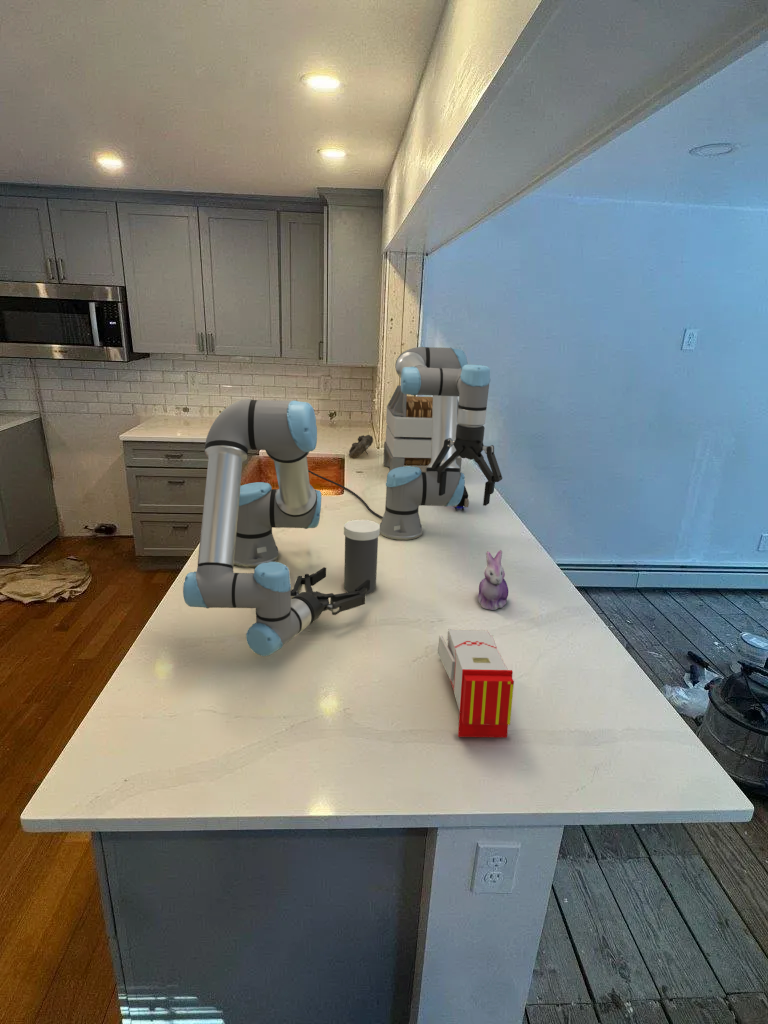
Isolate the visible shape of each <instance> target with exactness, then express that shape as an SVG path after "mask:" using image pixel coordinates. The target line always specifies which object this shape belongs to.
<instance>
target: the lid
mask: <svg viewBox="0 0 768 1024" xmlns="http://www.w3.org/2000/svg"><path fill="white" fill-rule="evenodd" d="M343 535H344V537H345V536H346V537H348V538H350V539H353V540H361V541H365V540H372V539H375V538H377V537H378V538H379V536H380V535H381V534H380V523H378V522H376V521H374V520H370V519H352V520H348V521H346V522H345V523H344V524H343Z"/></svg>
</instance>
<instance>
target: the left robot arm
mask: <svg viewBox="0 0 768 1024" xmlns="http://www.w3.org/2000/svg"><path fill="white" fill-rule="evenodd" d="M317 442H318V427H317V418H316V413H315V410H314V407H313V406H312V404H311V403H310V402H308V401H307V402H306V401H299V400H276V399H274V400H273V399H271V400H270V399H269V400H268V399H251V398H248V399H241V400H238V401H235V402H233V403H231V404H229V405H228V406H226V408H224V409H223V410H222V411H221V412H220V413H219V414H218V415H217V417H216V418H215V419H214V421H213V422H212V425H211V426H210V428H209V430H208V432H207V436H206V439H205V445H204V455H205V457H206V458H207V459H208V460H207V470H206V478H205V479H206V481H205V489H204V499H203V509H202V519H201V527H200V537H199V547H198V556H197V568H196V570H195V571H189V572H188V573H187V574H186V575H185V578H184V582H183V586H182V596H183V600H184V603H185V604H186V605H187V606H188V607H190V608H203V609H204V608H205V609H217V608H218V609H255V622H254V623H253V624H252V625H251V626H250V627H249V628H248V629H247V631H246V634H245V639H246V644H247V645H248V647H249V648H250V650H251V651H252V652H253V653H254V654H256V655H258V656H261V657H269V656H270V655H272V654H274V653H276V652H277V651H279V650H281V649H282V648H283V647H284V646H285V645H287V643H288V642H290V641H291V640H292V639H293V638H295V637H296V636H298V635H299V634H300V633H301V632H302V631H303V630H305V629H306V628H308V627H309V626H310V625H312V624H313V623H314V622H315V621H317V620H318V619H319V618H320V616H321V615H322V613H324V612H326V611H330V612H331V615H332V616H336V615H339V614H340V613H342V612H345V611H348V610H351V609H354V608H358V607H361V606H364V605H366V594H367V591H368V590H369V589H370V580H368V579H367V580H366V581H365V582H364V583H362V584H361V585H360V586H359V587H357V588H356V589H355V592H341V593H336V594H335V593H333V592H331V593H323V592H320V591H318V590H316V591H314V590H313V586H315V585H317V584H318V583H319V582H321V581H322V580H324V579H325V578H326V577H327V567H325V566H324V567H322V568H320V569H318V570H317V571H316V572H314V573H311V574H309V573H304V577H303V576H302V575H298V576H297V577H296V580H295V582H294V585H293V588H292V585H291V575H290V569H289V567H288V565H285V564H284V563H282V562H278V561H277V560H278V559H279V556H280V555H279V554H280V553H279V548H278V546H277V543H276V540H275V537H274V534H273V528H276V529H277V528H279V529H281V528H284V529H304V530H308V529H315V528H317V527H318V526H319V523H320V518H321V511H322V491H320V490H317V489H315V488H314V487H313V486H312V485H311V483H310V474H309V473H310V472H308V470H309V464H308V455H309V454H310V452H313V451H314V450H316V447H317ZM249 450H253V451H255V450H256V451H257V450H258V451H265V453H266V454H267V456H268V457H269V458H270V459H271V460H273V464H274V465H273V466H274V470H275V475H276V479H277V485H278V488H272V485H271V483H268V482H264V481H258V482H250V483H246V484H242V474H243V473H242V472H243V463H244V462H245V461H246V460H248V453H249ZM241 484H242V485H241ZM234 565H235V566H237V567H240V568H241V567H242V568H254V570H253V572H234V567H235V566H234ZM303 586H304V590H305V591H302V587H303ZM301 591H302V592H301ZM367 595H368V594H367ZM329 599H330V600H329Z"/></svg>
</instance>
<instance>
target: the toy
mask: <svg viewBox="0 0 768 1024" xmlns="http://www.w3.org/2000/svg"><path fill="white" fill-rule="evenodd" d="M446 640H447V643H446V641H445V639H444V636H443V635H442V634H439V637H438V646H437V656H438V657H439V659H440V661H441V663H442V666H443V668H444V670H445V672H446V674H447V677H448V679H449V681H450V684H451V687H452V690H453V693H454V697H455V701H456V705H457V708H458V711H459V714H458V715H459V716H458V730H457V731H458V732H457V737H458V738H508V731H509V726H510V725H511V717H512V707H513V697H514V696H513V695H514V684H515V680H514V679H513V673H514V671H513V670H512V669H508V667H507V665H506V662H505V661H504V659H503V658H502V655H501V653H500V651H499V649H498V647H497V643H496V639H495V637H494V635H493V634H491V632H490V631H489V629H467V628H466V629H465V628H463V629H461V628H460V629H459V628H448V630H447V639H446Z"/></svg>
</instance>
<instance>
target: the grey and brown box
mask: <svg viewBox="0 0 768 1024" xmlns="http://www.w3.org/2000/svg"><path fill="white" fill-rule="evenodd" d="M458 405H459V400H458V401H457V415H458ZM432 407H433V396H419V395H408V394H403V393H402V392H401V384H400V385H399V384H398V385H397V386H396V388H395V390H394V392H393V394H392V395H391V398H390V400H389V402H388V404H387V405H386V413H385V414H386V415H385V423H386V428H385V438H384V442H383V466H384V467H388V468H389V471H391V470H392V469H395V468H398V467H404V466H413V467H427V466H428V465H429V464H430V463H431V442H432ZM458 424H459V423H458V422H457V425H458ZM462 459H463V458H461V457H460V456H459V457H458V458H457V459H456V464H457V465H458V466H459V467H460V473H462V461H463V460H462Z"/></svg>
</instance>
